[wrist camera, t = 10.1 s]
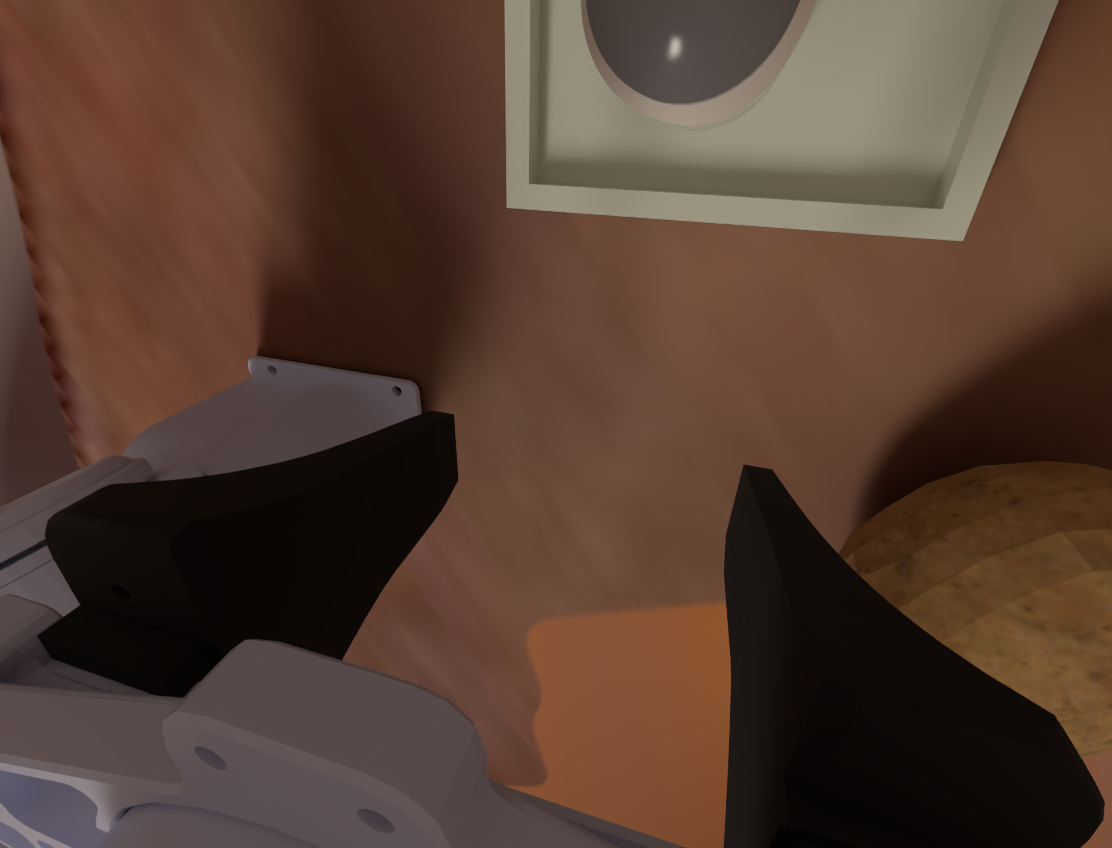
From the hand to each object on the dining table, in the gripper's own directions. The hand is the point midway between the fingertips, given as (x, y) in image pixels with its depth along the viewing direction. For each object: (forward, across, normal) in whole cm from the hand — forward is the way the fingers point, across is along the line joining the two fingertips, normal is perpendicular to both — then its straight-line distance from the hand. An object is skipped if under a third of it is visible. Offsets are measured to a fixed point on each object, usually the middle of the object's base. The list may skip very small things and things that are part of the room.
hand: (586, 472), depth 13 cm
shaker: (+9, -1, -10) cm, 13 cm away
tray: (+9, -2, -10) cm, 14 cm away
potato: (+10, -13, +7) cm, 18 cm away
